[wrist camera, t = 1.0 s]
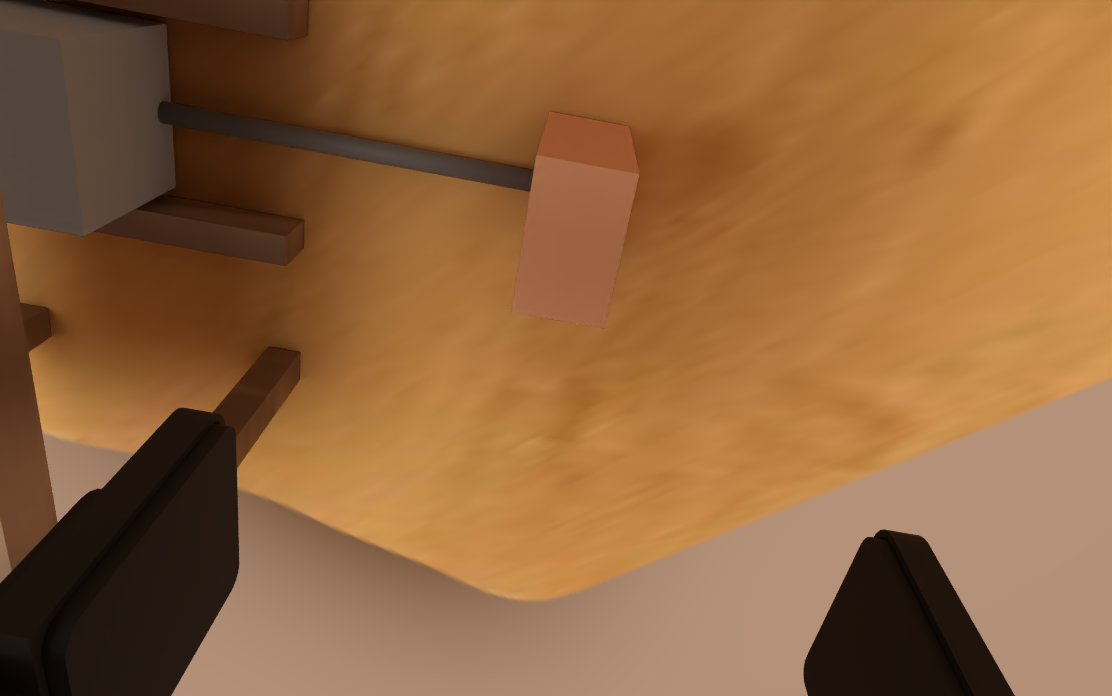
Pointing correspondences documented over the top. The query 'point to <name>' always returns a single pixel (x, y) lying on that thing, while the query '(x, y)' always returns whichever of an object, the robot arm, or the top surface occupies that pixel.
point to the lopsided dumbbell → (148, 151)
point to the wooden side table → (15, 329)
